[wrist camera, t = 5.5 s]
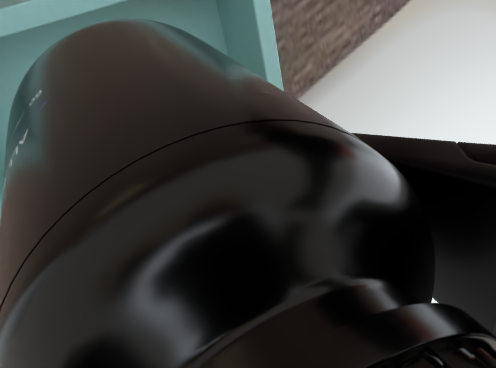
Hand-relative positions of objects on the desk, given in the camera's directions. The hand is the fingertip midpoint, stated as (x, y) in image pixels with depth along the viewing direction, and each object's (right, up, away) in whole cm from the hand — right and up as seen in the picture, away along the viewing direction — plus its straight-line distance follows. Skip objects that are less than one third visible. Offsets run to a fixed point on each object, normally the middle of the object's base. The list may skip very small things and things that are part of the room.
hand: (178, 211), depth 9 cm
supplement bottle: (-2, +2, +4) cm, 5 cm away
